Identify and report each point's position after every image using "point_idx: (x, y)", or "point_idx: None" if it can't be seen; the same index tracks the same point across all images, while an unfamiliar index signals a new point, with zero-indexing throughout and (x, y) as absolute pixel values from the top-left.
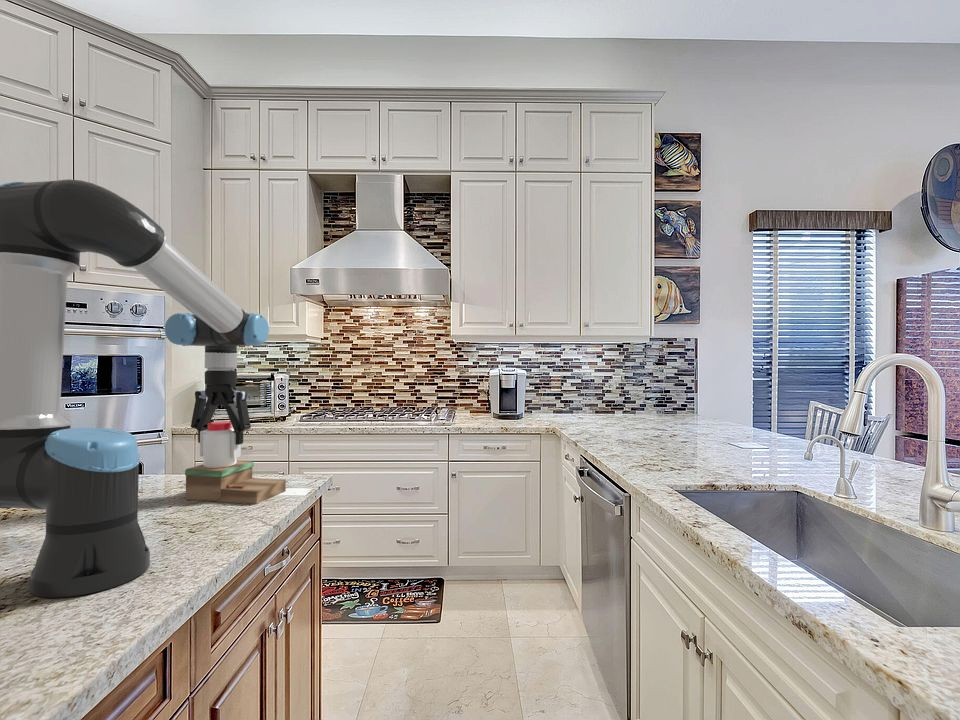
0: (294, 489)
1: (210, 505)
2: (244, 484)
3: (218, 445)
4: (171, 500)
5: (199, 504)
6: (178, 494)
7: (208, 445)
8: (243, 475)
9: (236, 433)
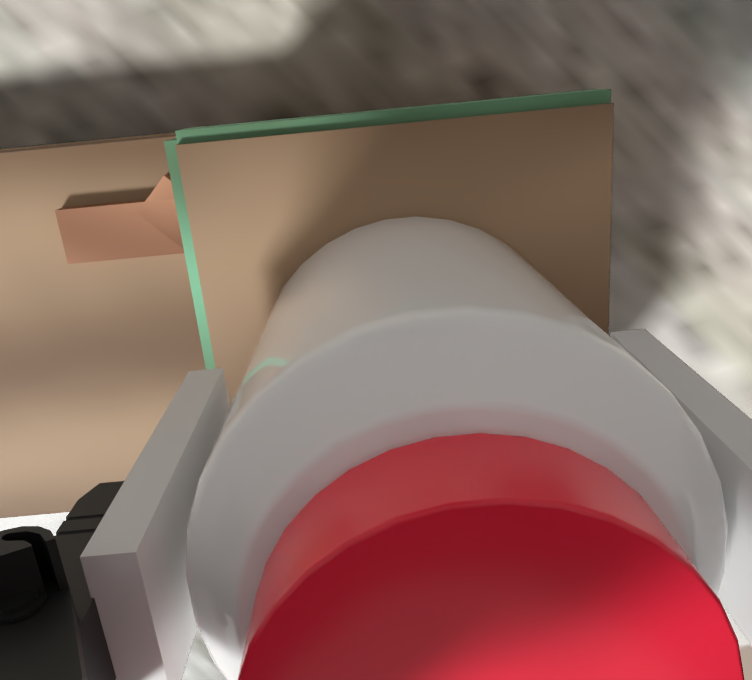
0: (4, 524)
1: (214, 14)
2: (159, 318)
3: (294, 322)
4: (612, 32)
5: (316, 9)
6: (686, 184)
7: (434, 269)
8: None
9: (81, 584)
